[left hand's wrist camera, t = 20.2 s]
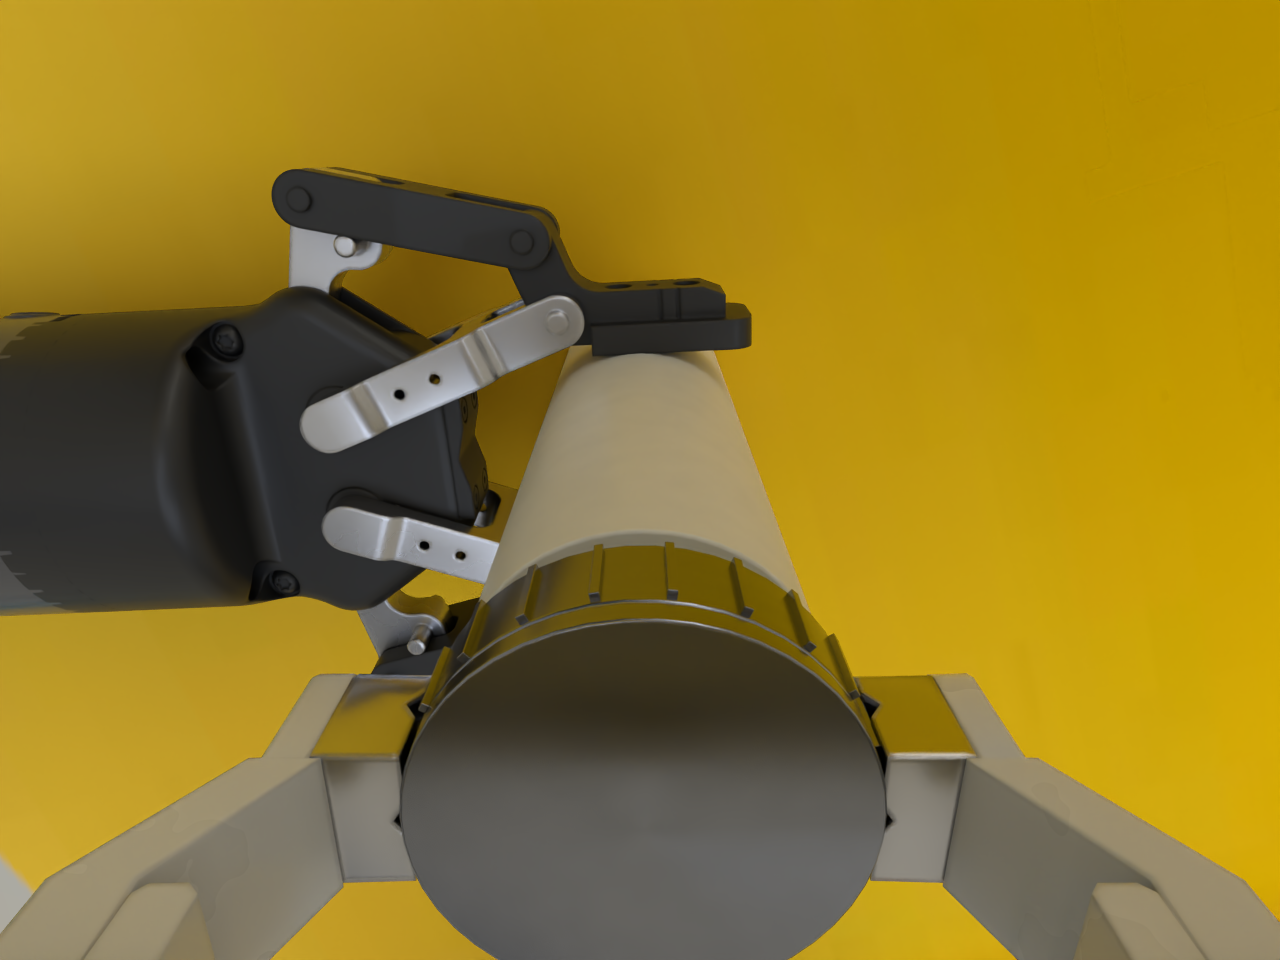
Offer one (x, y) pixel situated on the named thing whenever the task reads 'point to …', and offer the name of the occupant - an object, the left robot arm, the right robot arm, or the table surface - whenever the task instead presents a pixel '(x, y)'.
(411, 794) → the lid
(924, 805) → the left robot arm
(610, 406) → the cream cylinder
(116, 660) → the table surface
